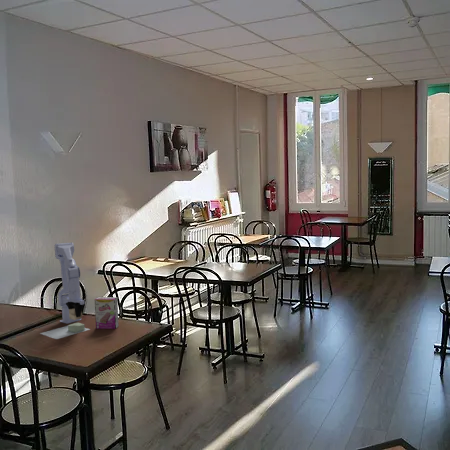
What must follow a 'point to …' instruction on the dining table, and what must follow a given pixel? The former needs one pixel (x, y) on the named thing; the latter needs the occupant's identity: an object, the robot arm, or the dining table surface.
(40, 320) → the dining table surface
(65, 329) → the mat
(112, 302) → the candy bar box
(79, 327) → the sage base block
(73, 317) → the maple block
